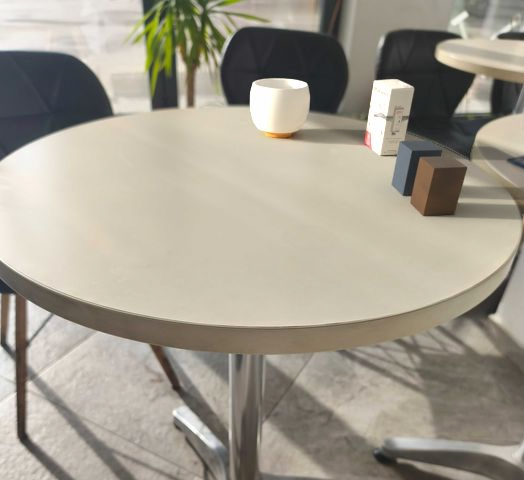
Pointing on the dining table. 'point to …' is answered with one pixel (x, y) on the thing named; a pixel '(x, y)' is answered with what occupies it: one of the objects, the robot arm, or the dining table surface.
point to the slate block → (411, 163)
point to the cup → (279, 105)
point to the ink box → (388, 115)
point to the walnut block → (438, 185)
